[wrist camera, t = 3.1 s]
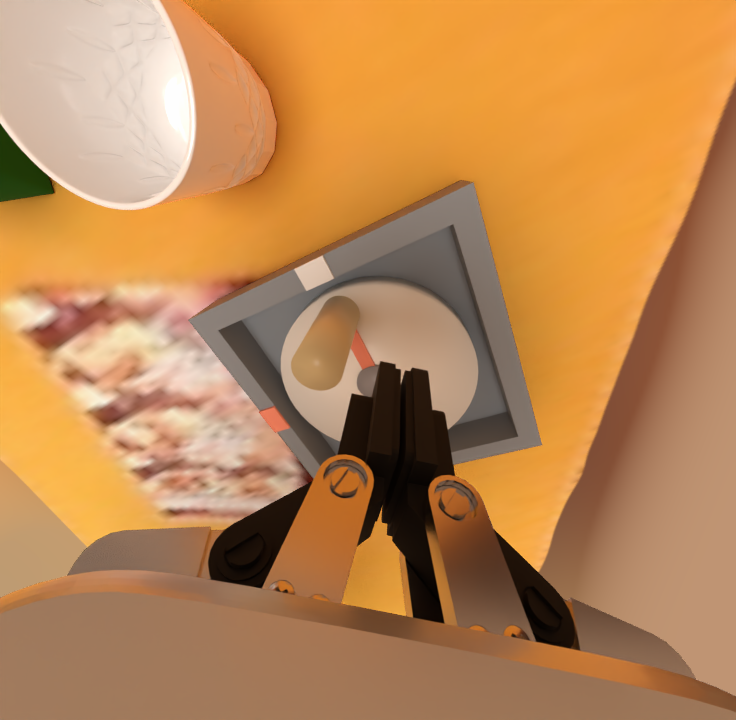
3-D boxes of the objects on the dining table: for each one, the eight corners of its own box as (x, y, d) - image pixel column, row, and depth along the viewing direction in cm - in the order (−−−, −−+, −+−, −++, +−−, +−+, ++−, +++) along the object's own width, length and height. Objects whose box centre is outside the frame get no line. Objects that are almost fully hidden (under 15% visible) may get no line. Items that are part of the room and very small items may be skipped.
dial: (493, 408, 27) (530, 504, 19) (340, 449, 31) (320, 540, 23) (437, 239, 20) (458, 282, 12) (252, 321, 25) (185, 390, 17)
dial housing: (525, 411, 28) (542, 447, 25) (332, 460, 34) (324, 494, 30) (460, 180, 19) (474, 182, 16) (217, 299, 25) (186, 321, 22)
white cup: (306, 84, 18) (218, 4, 9) (264, 216, 22) (175, 247, 13) (169, -5, 16) (-82, -195, 8) (151, 153, 20) (-30, 141, 12)
